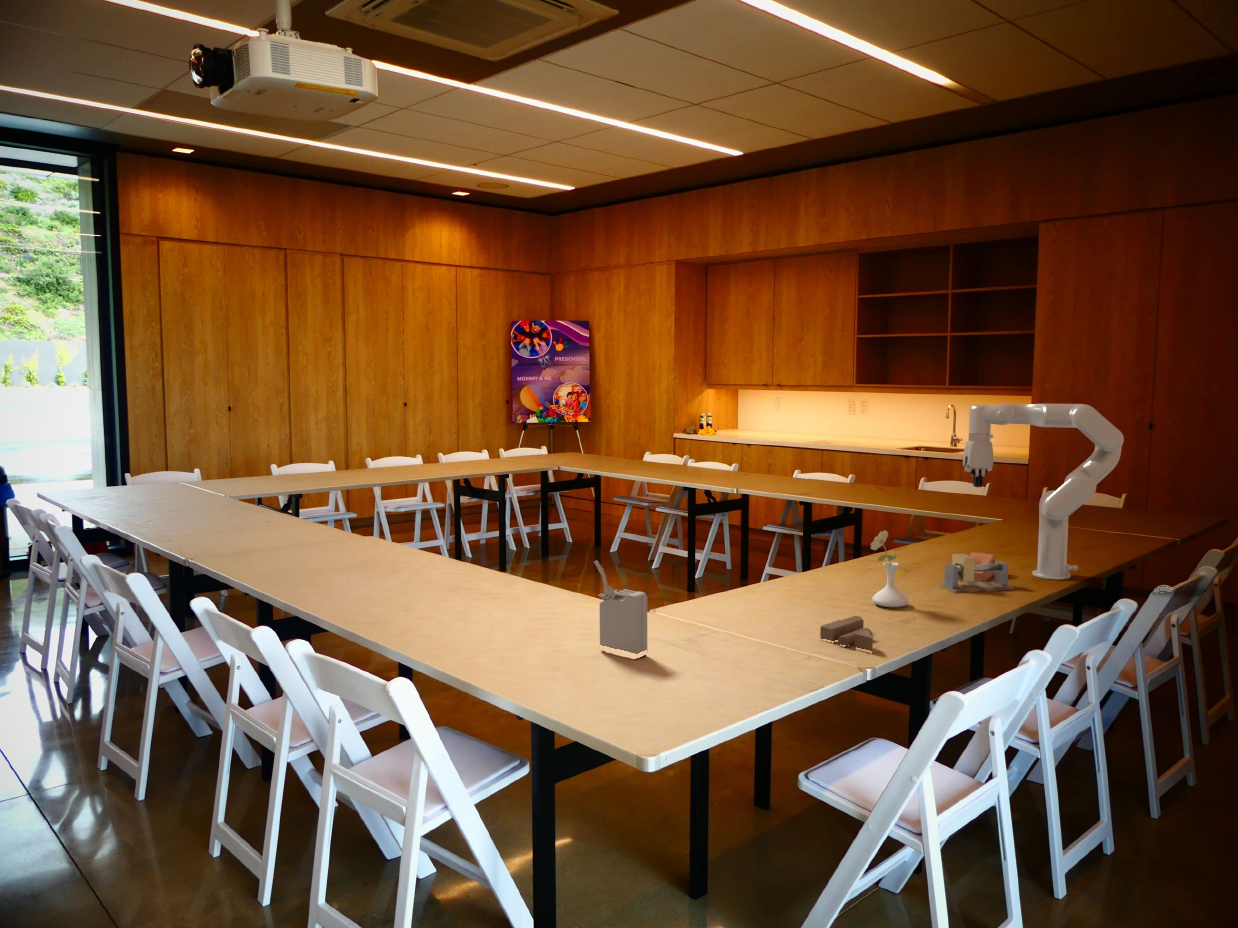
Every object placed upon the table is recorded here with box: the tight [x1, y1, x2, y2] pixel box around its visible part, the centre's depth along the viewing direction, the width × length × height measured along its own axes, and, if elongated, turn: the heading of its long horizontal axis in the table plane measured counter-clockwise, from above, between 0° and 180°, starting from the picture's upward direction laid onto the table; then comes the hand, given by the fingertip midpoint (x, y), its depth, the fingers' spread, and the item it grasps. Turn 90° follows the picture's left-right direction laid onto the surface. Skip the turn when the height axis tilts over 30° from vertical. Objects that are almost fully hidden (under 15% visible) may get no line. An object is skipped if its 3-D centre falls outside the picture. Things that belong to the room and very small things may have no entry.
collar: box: [951, 553, 975, 583], centre depth 303 cm, size 4×7×8 cm, turn 11°
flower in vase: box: [870, 529, 910, 608], centre depth 281 cm, size 13×11×25 cm
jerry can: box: [593, 559, 648, 654], centre depth 236 cm, size 15×5×25 cm, turn 51°
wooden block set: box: [819, 615, 874, 651], centre depth 246 cm, size 17×6×18 cm
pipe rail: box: [944, 560, 1009, 589], centre depth 304 cm, size 21×5×8 cm, turn 101°
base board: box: [938, 580, 1014, 594], centre depth 305 cm, size 22×10×1 cm, turn 101°
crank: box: [969, 551, 997, 582], centre depth 321 cm, size 20×8×8 cm, turn 144°
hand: (977, 486), depth 328 cm, fingers closed
